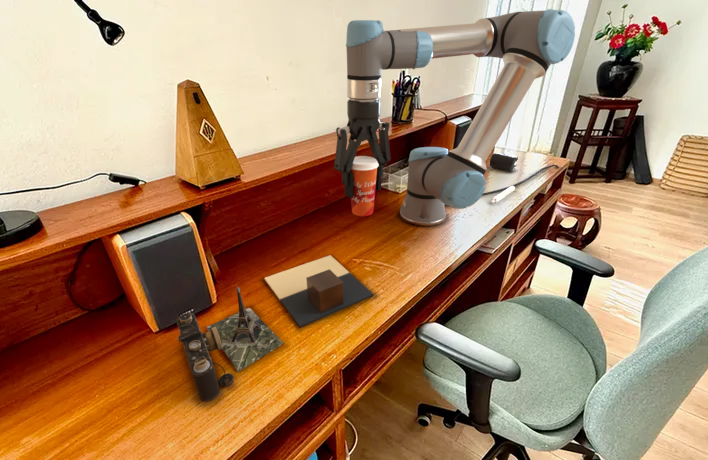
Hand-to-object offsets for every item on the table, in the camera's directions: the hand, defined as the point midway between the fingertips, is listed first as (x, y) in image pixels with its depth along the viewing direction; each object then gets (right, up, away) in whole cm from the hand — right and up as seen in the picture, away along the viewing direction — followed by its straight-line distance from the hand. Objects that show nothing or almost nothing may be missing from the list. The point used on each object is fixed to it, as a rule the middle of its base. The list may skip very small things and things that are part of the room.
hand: (362, 192), depth 93 cm
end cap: (+64, +17, +70) cm, 97 cm away
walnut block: (-9, -26, -10) cm, 29 cm away
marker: (+53, +2, +43) cm, 68 cm away
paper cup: (0, -5, +3) cm, 6 cm away
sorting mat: (-11, -24, -5) cm, 27 cm away
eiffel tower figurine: (-24, -32, -19) cm, 44 cm away
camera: (-29, -35, -25) cm, 52 cm away
